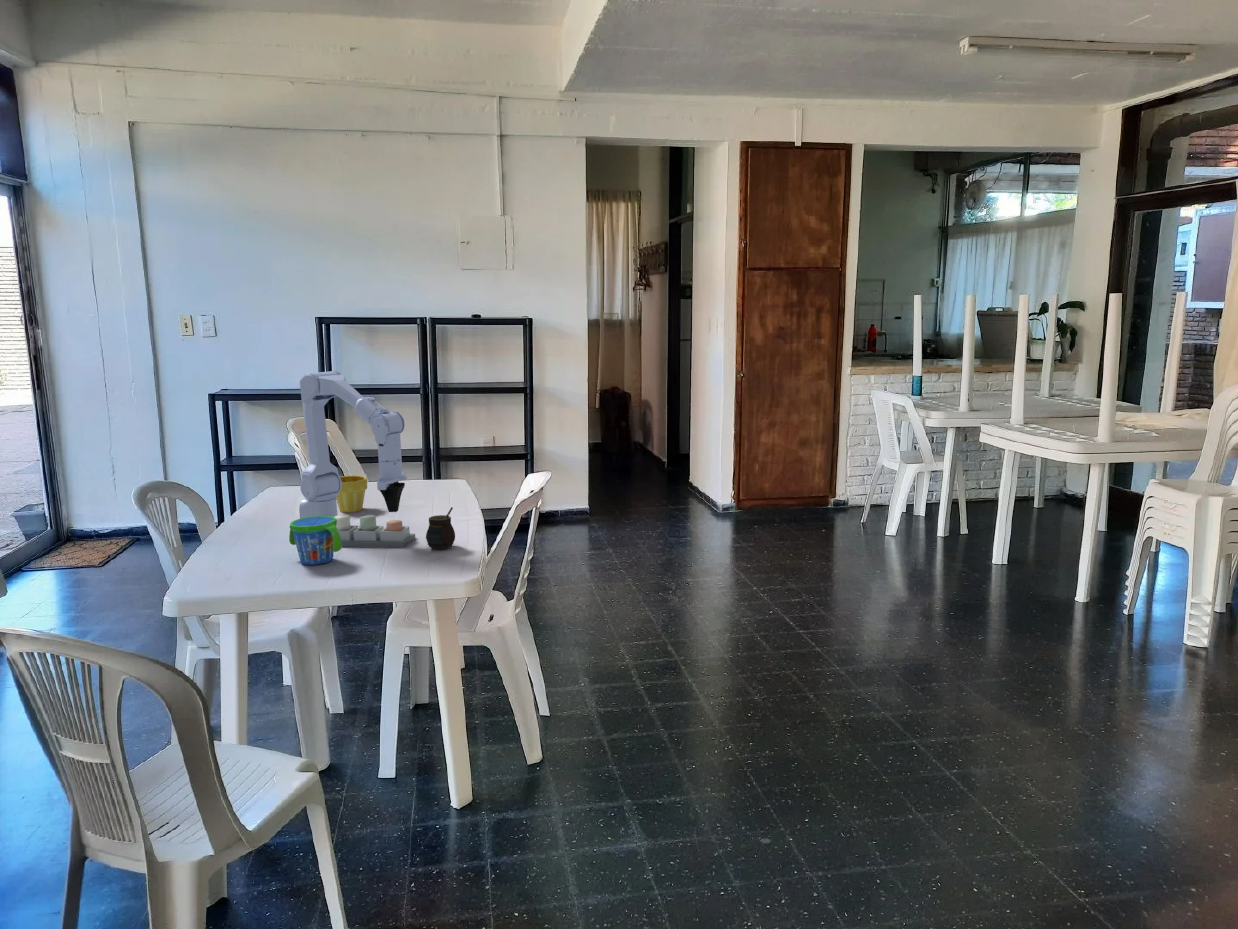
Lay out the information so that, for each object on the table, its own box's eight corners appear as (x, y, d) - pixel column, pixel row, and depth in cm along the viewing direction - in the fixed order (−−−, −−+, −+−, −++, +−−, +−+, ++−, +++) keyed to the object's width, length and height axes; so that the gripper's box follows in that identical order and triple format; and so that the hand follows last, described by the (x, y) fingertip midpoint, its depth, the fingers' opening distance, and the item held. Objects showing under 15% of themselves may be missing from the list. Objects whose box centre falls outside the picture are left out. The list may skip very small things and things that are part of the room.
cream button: (332, 533, 216) (331, 518, 216) (338, 529, 220) (337, 514, 219) (347, 533, 216) (346, 518, 215) (353, 529, 220) (352, 515, 219)
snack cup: (278, 561, 202) (274, 521, 200) (316, 551, 211) (312, 512, 209) (317, 572, 193) (314, 530, 191) (355, 561, 202) (352, 520, 200)
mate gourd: (420, 549, 211) (418, 510, 209) (442, 542, 217) (440, 505, 216) (440, 553, 207) (438, 514, 205) (462, 546, 213) (460, 508, 212)
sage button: (358, 533, 216) (357, 518, 215) (364, 529, 220) (363, 515, 219) (373, 534, 215) (372, 519, 215) (379, 530, 219) (378, 515, 218)
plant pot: (362, 514, 249) (360, 482, 247) (328, 514, 249) (325, 482, 247) (373, 506, 259) (371, 475, 257) (340, 506, 259) (338, 475, 257)
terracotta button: (384, 538, 215) (383, 523, 214) (390, 534, 219) (389, 520, 218) (400, 539, 215) (399, 524, 214) (405, 535, 219) (404, 520, 218)
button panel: (322, 546, 214) (321, 532, 214) (336, 537, 223) (335, 523, 223) (403, 547, 213) (402, 533, 212) (415, 538, 221) (414, 524, 221)
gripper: (395, 465, 206) (398, 518, 208) (414, 455, 220) (417, 505, 223) (367, 465, 206) (371, 518, 209) (388, 454, 221) (391, 504, 223)
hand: (393, 511), depth 216 cm, fingers closed
